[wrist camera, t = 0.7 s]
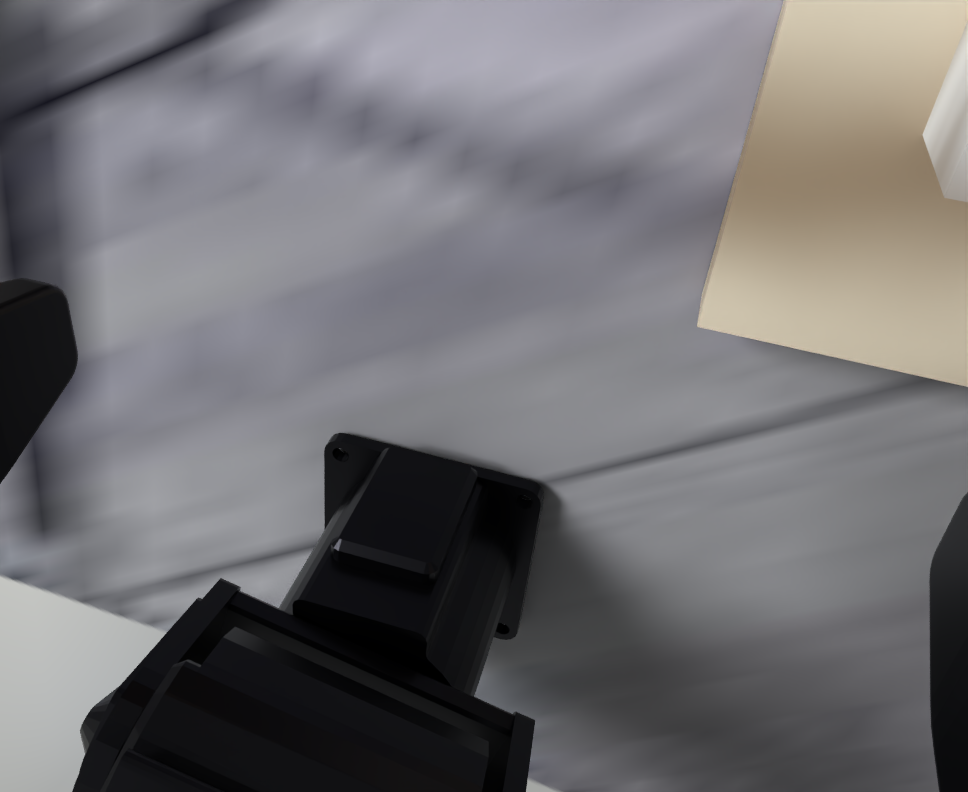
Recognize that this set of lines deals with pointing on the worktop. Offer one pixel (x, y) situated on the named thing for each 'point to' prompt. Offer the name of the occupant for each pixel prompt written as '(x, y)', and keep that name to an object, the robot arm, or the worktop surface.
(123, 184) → the worktop surface
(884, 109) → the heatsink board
